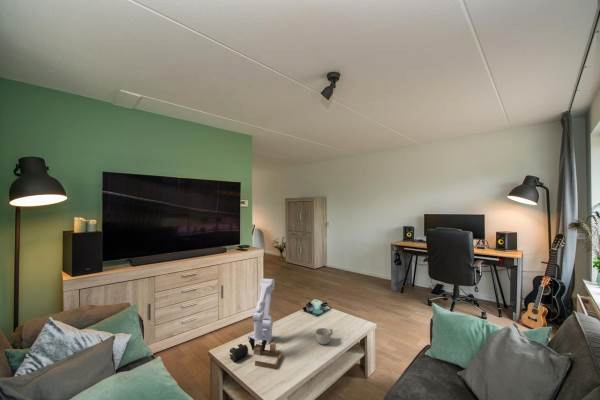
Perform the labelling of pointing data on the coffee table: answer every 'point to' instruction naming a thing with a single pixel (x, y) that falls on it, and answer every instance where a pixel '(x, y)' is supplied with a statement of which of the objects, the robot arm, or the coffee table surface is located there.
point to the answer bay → (270, 365)
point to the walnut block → (258, 349)
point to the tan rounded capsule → (273, 347)
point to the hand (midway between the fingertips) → (258, 350)
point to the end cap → (238, 352)
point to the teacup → (323, 335)
